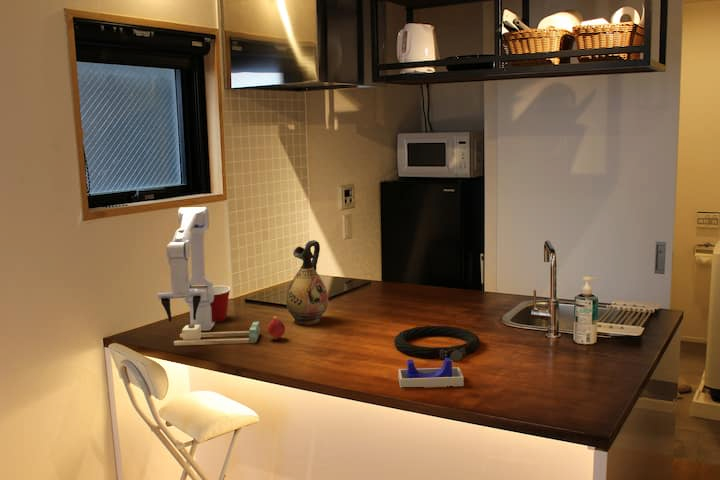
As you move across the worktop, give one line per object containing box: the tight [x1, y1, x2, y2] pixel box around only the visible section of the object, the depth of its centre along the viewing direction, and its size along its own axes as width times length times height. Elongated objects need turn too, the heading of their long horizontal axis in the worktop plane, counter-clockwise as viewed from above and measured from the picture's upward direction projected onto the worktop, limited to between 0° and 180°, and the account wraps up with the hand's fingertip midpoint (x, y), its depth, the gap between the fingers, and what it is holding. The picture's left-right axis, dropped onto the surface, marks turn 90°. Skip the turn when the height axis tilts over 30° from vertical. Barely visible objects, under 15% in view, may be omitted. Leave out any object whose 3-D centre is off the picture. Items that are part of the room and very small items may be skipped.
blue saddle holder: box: [406, 358, 453, 378], centre depth 198 cm, size 12×4×6 cm, turn 93°
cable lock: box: [393, 325, 481, 362], centre depth 228 cm, size 28×4×30 cm
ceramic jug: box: [285, 239, 329, 326], centre depth 261 cm, size 17×15×30 cm
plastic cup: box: [210, 285, 232, 322], centre depth 268 cm, size 11×11×12 cm
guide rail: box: [173, 321, 261, 346], centre depth 243 cm, size 10×27×4 cm, turn 91°
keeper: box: [181, 323, 202, 340], centre depth 243 cm, size 6×5×5 cm
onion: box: [267, 316, 286, 341], centre depth 241 cm, size 6×6×8 cm
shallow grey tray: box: [397, 366, 465, 389], centre depth 197 cm, size 8×17×2 cm, turn 91°
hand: (182, 320), depth 232 cm, fingers open, 7 cm apart
